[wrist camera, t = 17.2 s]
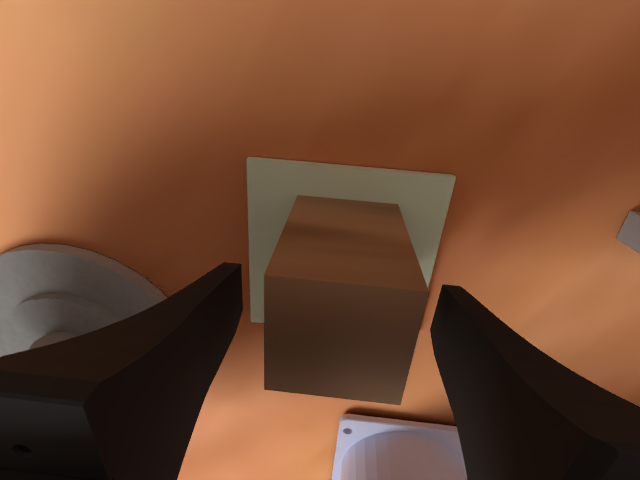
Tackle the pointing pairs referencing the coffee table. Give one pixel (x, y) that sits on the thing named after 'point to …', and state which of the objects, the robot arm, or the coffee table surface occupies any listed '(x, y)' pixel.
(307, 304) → the block
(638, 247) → the channel
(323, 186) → the pad
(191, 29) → the coffee table surface
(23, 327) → the mate gourd
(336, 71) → the coffee table surface
